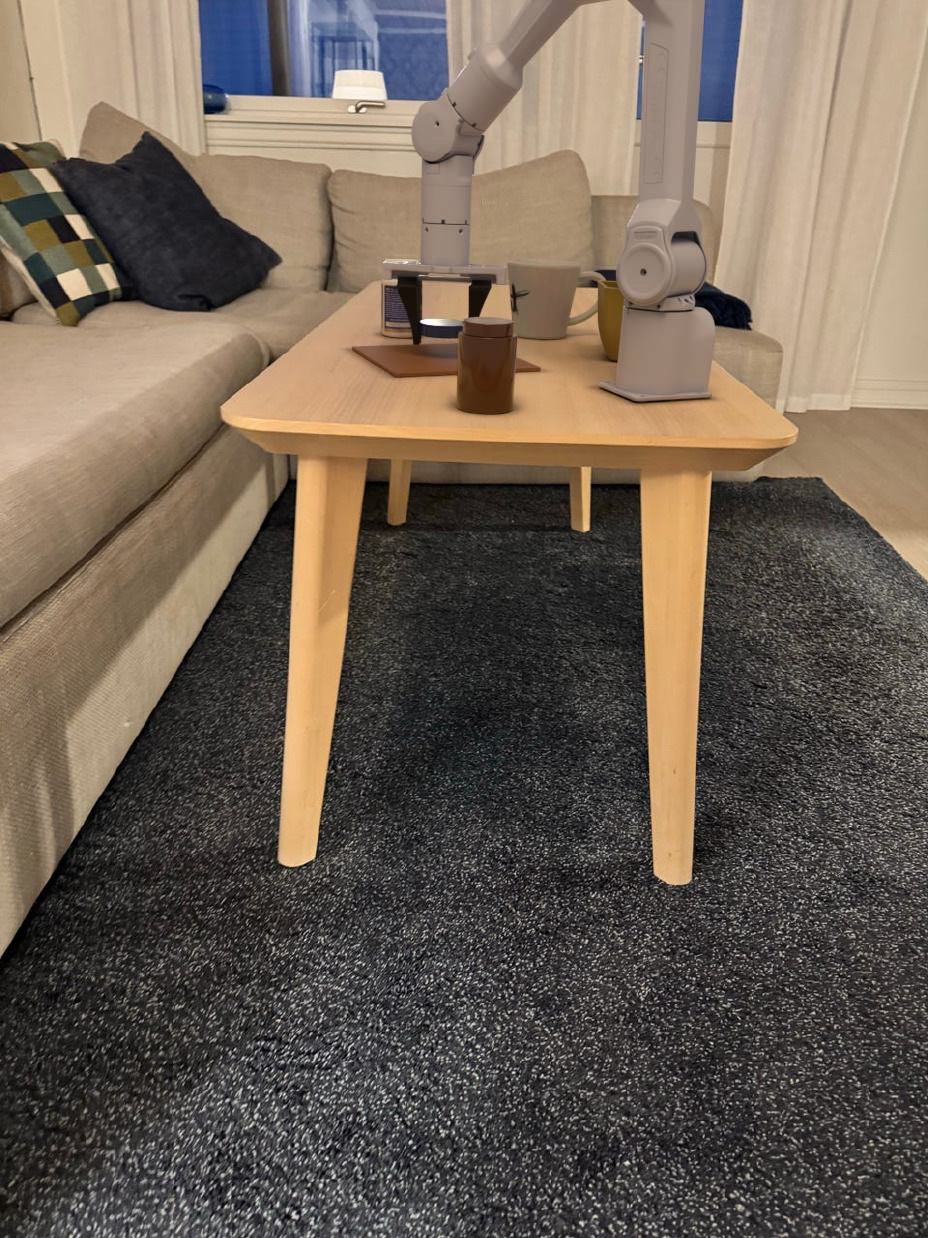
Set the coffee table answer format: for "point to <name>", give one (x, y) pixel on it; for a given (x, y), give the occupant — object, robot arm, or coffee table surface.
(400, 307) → the pill bottle
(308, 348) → the coffee table surface
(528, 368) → the mat
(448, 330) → the lid
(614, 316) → the flower pot
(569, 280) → the mug
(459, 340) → the jar
